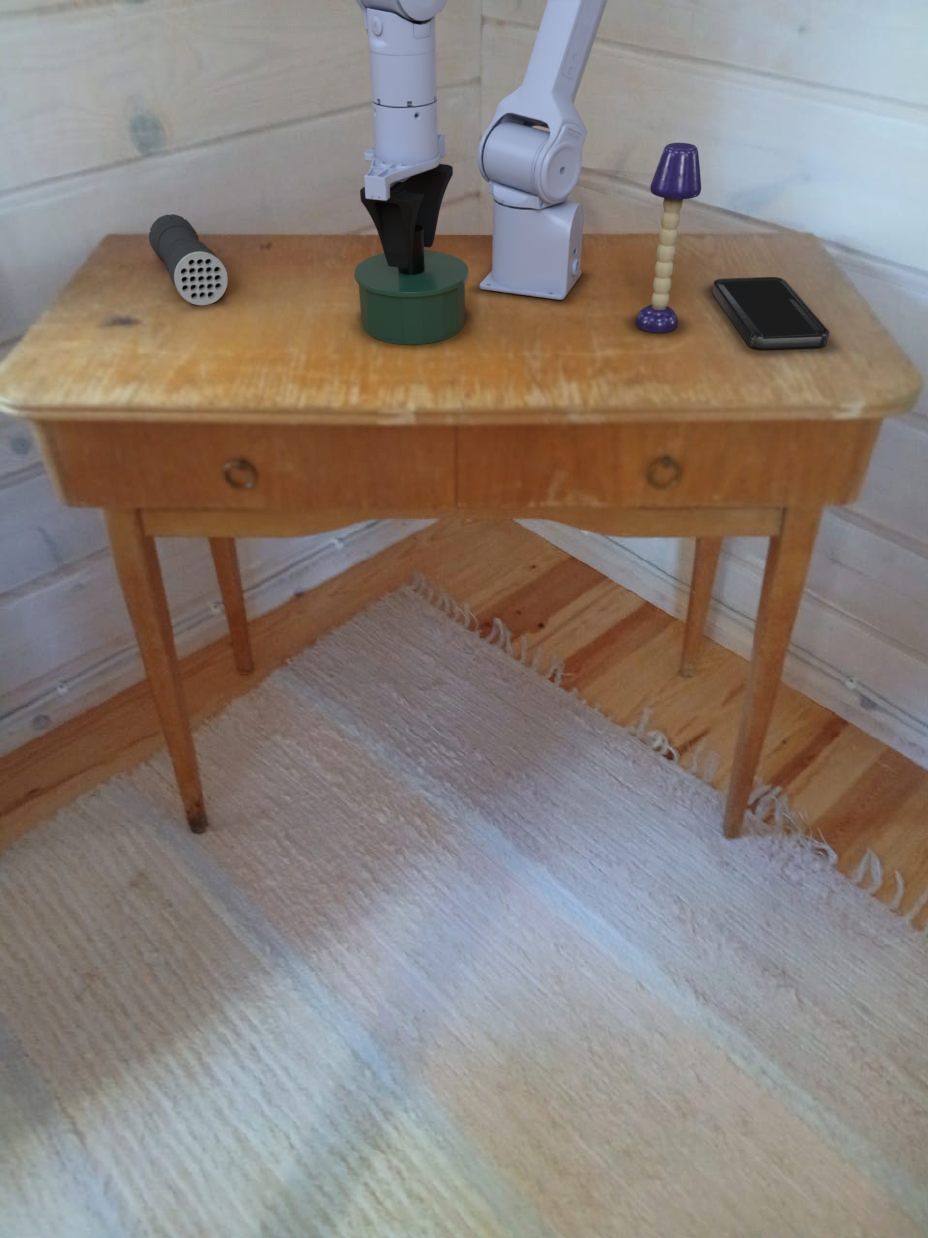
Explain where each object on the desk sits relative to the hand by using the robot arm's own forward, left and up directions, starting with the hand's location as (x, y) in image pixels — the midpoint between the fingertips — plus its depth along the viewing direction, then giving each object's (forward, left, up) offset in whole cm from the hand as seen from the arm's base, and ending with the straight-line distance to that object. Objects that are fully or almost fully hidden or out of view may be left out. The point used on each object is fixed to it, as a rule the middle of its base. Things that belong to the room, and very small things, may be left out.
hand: (410, 255), depth 93 cm
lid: (0, 0, -2) cm, 2 cm away
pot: (0, 0, -7) cm, 7 cm away
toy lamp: (-24, -8, -7) cm, 26 cm away
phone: (-34, -13, -7) cm, 37 cm away
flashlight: (+28, -2, -7) cm, 28 cm away
